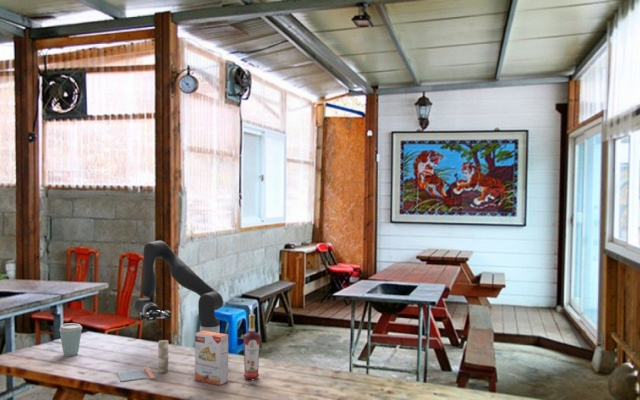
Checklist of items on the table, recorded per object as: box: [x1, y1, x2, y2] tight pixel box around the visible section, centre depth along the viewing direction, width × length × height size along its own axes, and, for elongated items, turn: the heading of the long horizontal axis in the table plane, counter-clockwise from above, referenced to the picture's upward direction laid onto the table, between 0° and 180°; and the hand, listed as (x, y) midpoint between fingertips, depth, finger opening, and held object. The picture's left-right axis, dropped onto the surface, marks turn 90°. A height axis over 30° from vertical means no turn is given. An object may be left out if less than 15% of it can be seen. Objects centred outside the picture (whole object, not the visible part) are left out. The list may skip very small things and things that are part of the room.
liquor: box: [243, 314, 261, 381], centre depth 235 cm, size 7×7×28 cm
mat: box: [116, 369, 146, 383], centre depth 236 cm, size 10×12×1 cm
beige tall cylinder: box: [157, 339, 169, 374], centre depth 243 cm, size 4×4×14 cm
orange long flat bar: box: [143, 366, 156, 380], centre depth 240 cm, size 2×16×1 cm, turn 28°
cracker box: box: [194, 331, 229, 386], centre depth 231 cm, size 14×6×21 cm, turn 62°
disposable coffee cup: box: [58, 322, 83, 357], centre depth 268 cm, size 11×11×15 cm
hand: (158, 318), depth 253 cm, fingers open, 8 cm apart
